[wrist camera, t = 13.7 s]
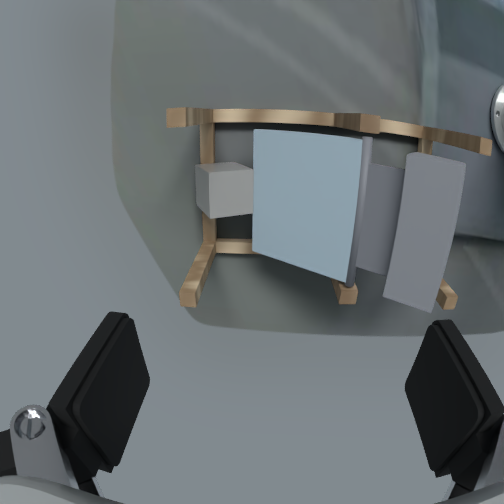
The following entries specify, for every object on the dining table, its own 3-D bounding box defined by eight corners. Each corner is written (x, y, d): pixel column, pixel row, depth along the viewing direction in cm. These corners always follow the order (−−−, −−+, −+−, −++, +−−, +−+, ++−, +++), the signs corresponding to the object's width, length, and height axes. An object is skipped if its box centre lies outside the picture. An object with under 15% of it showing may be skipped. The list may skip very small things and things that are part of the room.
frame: (429, 127, 34) (492, 140, 22) (410, 255, 42) (453, 309, 29) (201, 109, 36) (166, 108, 23) (205, 248, 43) (180, 306, 31)
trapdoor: (466, 154, 22) (467, 157, 19) (436, 296, 28) (428, 320, 25) (274, 126, 34) (247, 126, 31) (271, 243, 40) (246, 256, 37)
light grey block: (208, 172, 31) (194, 164, 36) (210, 218, 33) (196, 204, 38) (253, 169, 33) (234, 161, 38) (253, 213, 35) (234, 200, 40)
